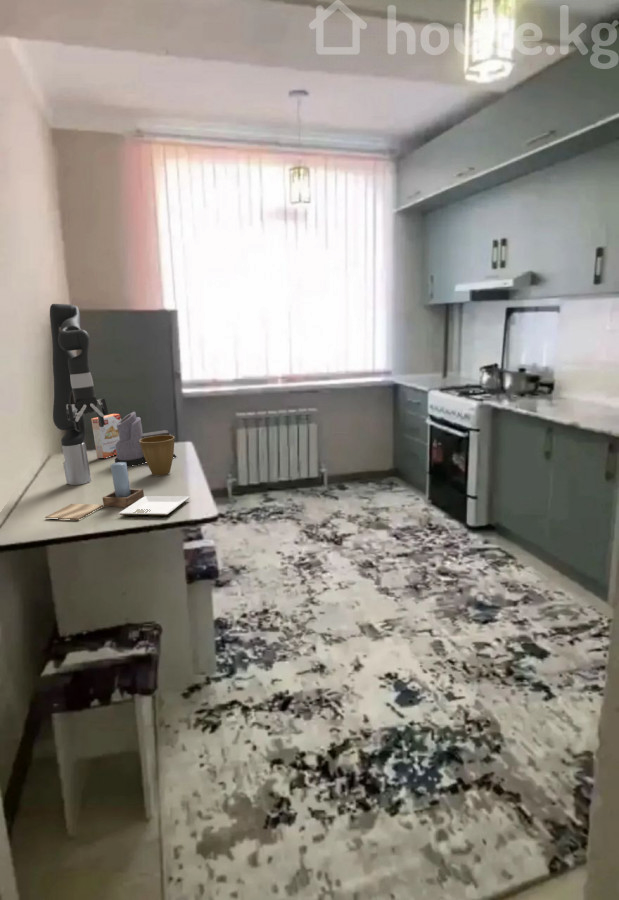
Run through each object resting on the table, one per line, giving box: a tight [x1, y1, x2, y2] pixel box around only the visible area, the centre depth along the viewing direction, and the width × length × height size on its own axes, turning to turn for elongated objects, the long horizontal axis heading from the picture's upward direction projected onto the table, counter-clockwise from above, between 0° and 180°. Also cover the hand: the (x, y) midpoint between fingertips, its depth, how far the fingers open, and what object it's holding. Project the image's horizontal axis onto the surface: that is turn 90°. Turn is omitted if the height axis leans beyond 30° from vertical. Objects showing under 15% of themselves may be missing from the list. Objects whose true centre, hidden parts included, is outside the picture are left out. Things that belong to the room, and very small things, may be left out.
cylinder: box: [110, 462, 131, 498], centre depth 214 cm, size 6×6×15 cm
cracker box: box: [90, 413, 122, 459], centre depth 292 cm, size 14×6×21 cm, turn 148°
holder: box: [102, 488, 145, 508], centre depth 215 cm, size 11×11×4 cm
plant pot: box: [139, 434, 175, 476], centre depth 251 cm, size 15×15×16 cm
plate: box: [118, 495, 191, 517], centre depth 205 cm, size 19×19×2 cm
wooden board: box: [44, 503, 104, 520], centre depth 207 cm, size 14×14×1 cm
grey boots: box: [114, 411, 177, 467], centre depth 277 cm, size 30×16×24 cm, turn 115°
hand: (90, 429), depth 213 cm, fingers open, 8 cm apart
